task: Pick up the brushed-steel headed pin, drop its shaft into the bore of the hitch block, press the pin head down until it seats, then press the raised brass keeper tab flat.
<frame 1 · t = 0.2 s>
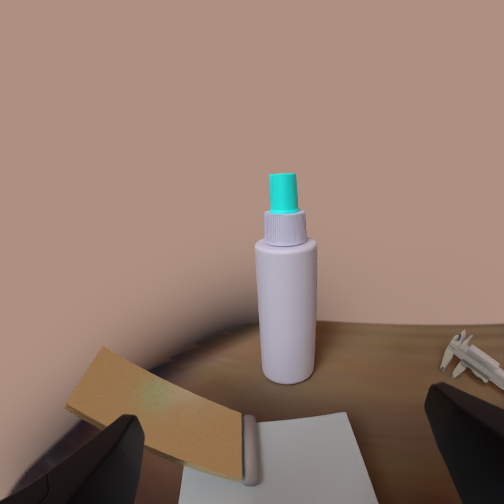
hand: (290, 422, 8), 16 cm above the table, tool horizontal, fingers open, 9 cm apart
brass keeper: (163, 416, 17), point 9 cm above the table, hinge at 35.0°
spray bottle: (288, 371, 34), on the table
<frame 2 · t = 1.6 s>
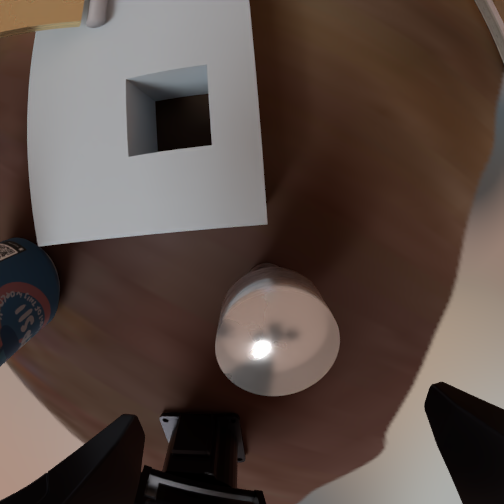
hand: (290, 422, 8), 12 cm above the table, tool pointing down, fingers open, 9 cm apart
hitch block: (153, 85, 16), on the table
steel pin: (266, 282, 19), on the table
soda can: (34, 277, 19), on the table
caliper: (477, 30, 15), on the table
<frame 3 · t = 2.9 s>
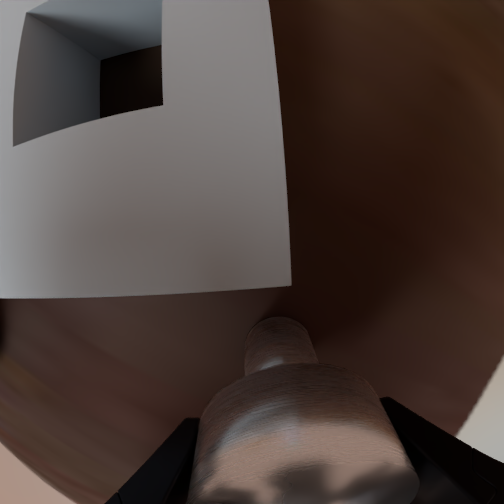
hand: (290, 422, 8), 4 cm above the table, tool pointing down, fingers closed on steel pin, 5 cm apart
hitch block: (99, 38, 9), on the table
steel pin: (277, 345, 12), on the table, touching gripper
when the fingers open (7 cm above the table, at t = 6.4 s): steel pin drops 2 cm, resting on hitch block.
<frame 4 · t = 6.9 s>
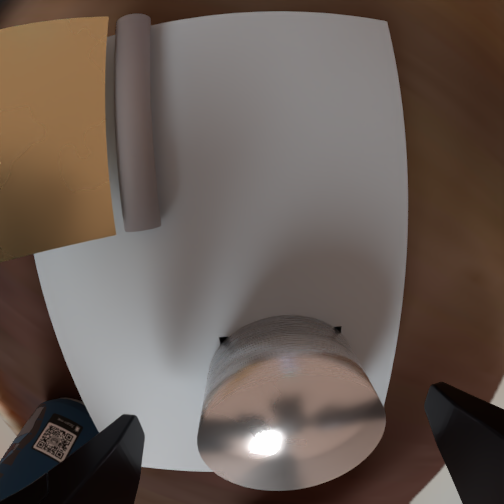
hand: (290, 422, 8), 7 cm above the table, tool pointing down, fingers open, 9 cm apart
hitch block: (223, 258, 14), on the table
steel pin: (272, 317, 14), resting on hitch block
soda can: (85, 424, 17), on the table
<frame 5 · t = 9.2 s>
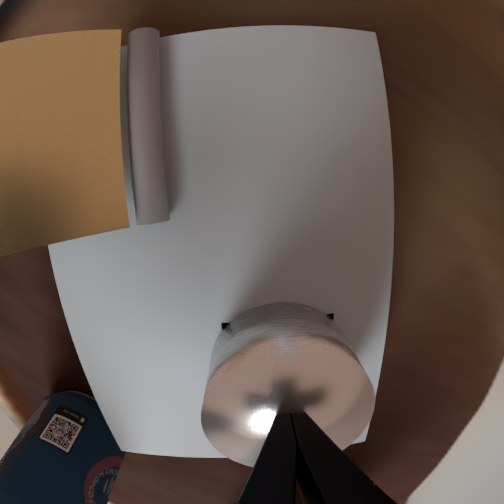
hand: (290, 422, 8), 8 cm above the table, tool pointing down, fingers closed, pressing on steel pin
hitch block: (224, 253, 15), on the table
steel pin: (271, 309, 15), resting on hitch block, touching gripper
soda can: (89, 417, 18), on the table
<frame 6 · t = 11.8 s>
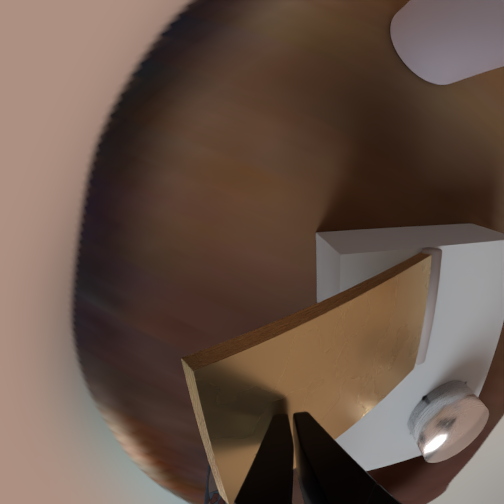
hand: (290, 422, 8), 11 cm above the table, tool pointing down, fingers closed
brass keeper: (349, 370, 10), point 9 cm above the table, hinge at 34.4°, touching gripper
hitch block: (394, 343, 20), on the table
steel pin: (412, 371, 20), resting on hitch block
spray bottle: (424, 47, 15), on the table
soda can: (247, 459, 23), on the table
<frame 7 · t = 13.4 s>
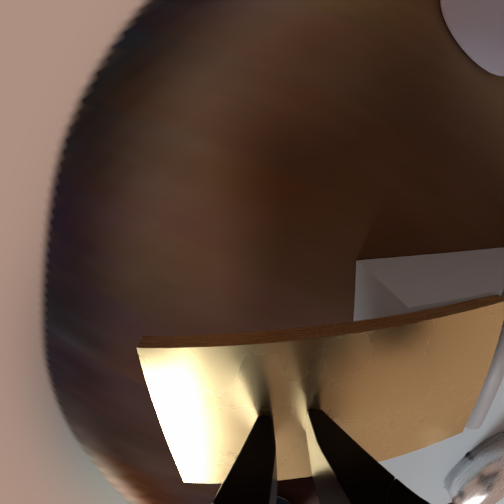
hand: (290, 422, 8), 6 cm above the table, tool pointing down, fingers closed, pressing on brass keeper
brass keeper: (347, 411, 8), point 6 cm above the table, hinge at 2.0°, touching gripper
hitch block: (434, 387, 15), on the table
steel pin: (448, 415, 15), resting on hitch block
spray bottle: (476, 31, 10), on the table
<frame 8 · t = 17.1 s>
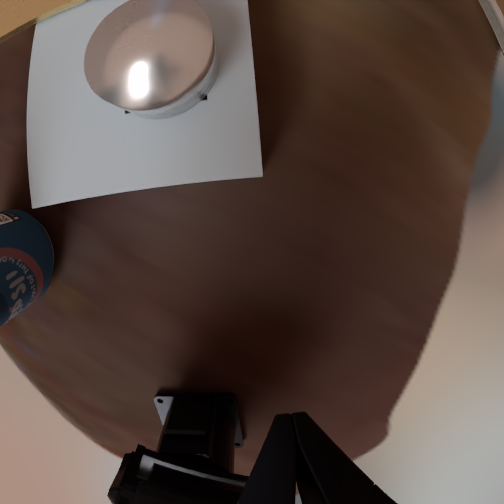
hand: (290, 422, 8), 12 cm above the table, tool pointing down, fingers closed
hitch block: (151, 57, 16), on the table
steel pin: (184, 92, 16), resting on hitch block
soda can: (29, 251, 19), on the table
caliper: (473, 13, 14), on the table
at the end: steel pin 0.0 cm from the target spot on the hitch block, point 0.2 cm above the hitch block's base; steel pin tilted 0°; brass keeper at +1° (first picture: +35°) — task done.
